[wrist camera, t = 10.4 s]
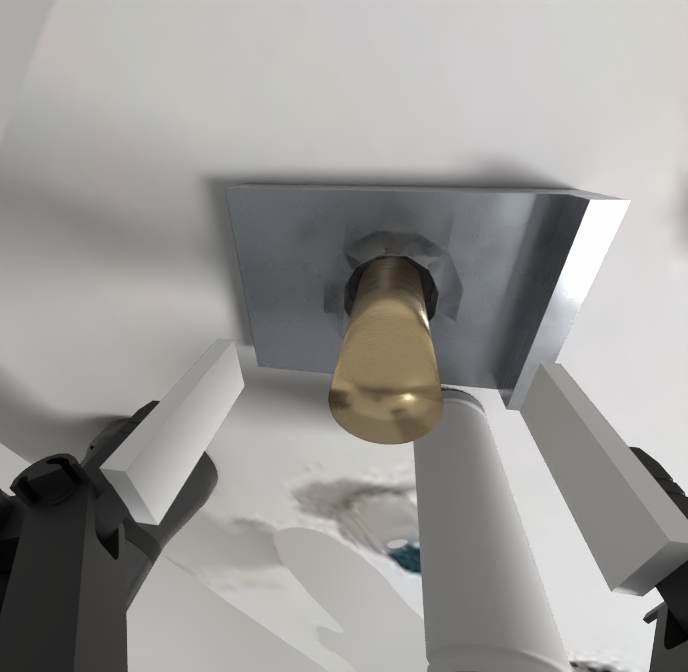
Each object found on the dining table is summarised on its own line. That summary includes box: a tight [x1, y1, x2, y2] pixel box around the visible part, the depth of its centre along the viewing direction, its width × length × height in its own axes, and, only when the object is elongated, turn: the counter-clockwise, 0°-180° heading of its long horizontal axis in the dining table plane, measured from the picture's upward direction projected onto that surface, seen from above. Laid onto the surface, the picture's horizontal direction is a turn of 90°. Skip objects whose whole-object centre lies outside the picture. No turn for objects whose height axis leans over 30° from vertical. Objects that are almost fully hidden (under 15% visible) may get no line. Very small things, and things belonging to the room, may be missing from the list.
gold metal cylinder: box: [328, 257, 444, 444], centre depth 17 cm, size 4×4×12 cm
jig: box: [225, 184, 630, 411], centre depth 20 cm, size 20×13×4 cm, turn 90°
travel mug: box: [414, 390, 572, 672], centre depth 19 cm, size 6×7×20 cm
